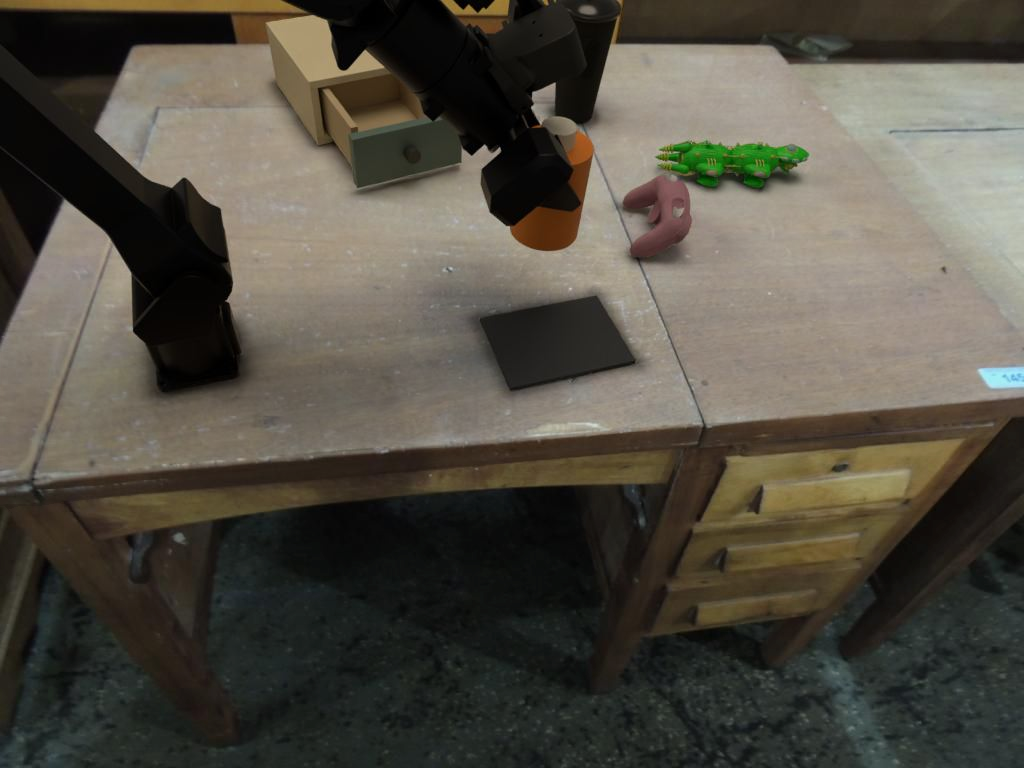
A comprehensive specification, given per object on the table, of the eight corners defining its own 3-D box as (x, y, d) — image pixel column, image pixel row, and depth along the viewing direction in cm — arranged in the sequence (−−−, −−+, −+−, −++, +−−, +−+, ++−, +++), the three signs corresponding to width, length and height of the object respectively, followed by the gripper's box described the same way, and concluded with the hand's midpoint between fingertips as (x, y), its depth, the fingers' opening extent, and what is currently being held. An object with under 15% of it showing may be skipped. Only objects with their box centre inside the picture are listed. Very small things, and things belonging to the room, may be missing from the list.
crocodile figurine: (808, 192, 87) (822, 159, 84) (658, 188, 86) (666, 155, 82) (791, 160, 92) (803, 128, 88) (648, 156, 90) (655, 124, 87)
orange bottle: (500, 240, 64) (511, 135, 56) (520, 202, 68) (533, 99, 60) (568, 258, 63) (588, 154, 55) (584, 219, 67) (604, 116, 59)
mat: (510, 391, 64) (510, 388, 64) (479, 320, 70) (479, 317, 69) (635, 363, 67) (636, 360, 67) (596, 298, 73) (596, 294, 72)
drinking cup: (613, 111, 96) (643, -58, 81) (585, 136, 92) (612, -38, 77) (562, 93, 99) (583, -75, 84) (532, 116, 94) (548, -57, 79)
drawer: (466, 168, 84) (467, 120, 80) (361, 194, 80) (356, 145, 75) (409, 102, 93) (407, 56, 88) (312, 123, 88) (305, 75, 84)
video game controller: (661, 274, 78) (706, 227, 73) (626, 256, 76) (669, 207, 72) (650, 217, 85) (691, 171, 80) (618, 199, 83) (658, 151, 78)
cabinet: (425, 121, 92) (424, 60, 86) (318, 145, 87) (308, 81, 81) (376, 65, 101) (372, 5, 95) (276, 83, 96) (265, 22, 90)
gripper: (562, 35, 42) (688, 188, 53) (494, -82, 54) (609, 62, 65) (425, 162, 47) (567, 280, 57) (389, 29, 58) (513, 147, 69)
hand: (566, 184), depth 62 cm, fingers closed on orange bottle, 6 cm apart
